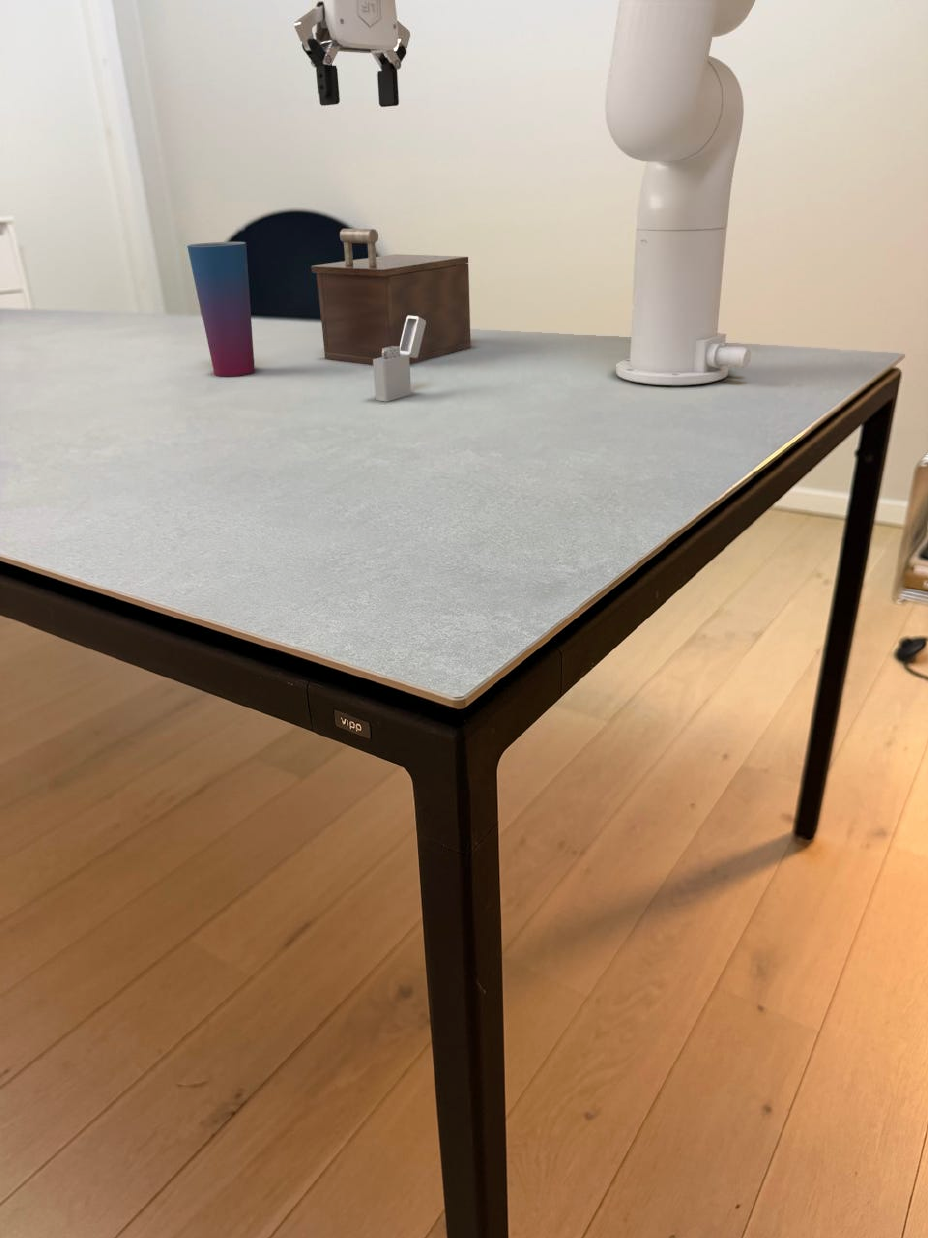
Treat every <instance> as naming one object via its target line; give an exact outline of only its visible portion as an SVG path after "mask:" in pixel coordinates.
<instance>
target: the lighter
mask: <svg viewBox="0 0 928 1238" xmlns="http://www.w3.org/2000/svg"><path fill="white" fill-rule="evenodd" d="M425 325H426V321H425V320H424V319H422V318H420V317H418V316H407V318H406V322H405V326H404V330H403V335H402V339H401V343H400V347H397V346H391V347H387V348H382V357H380V358H376V359H373V377H374V390H375V391H374V392H375V393H374V394H375V400H376V401H379V402H384V403H385V402H388V403H389V402H391V401H394V400H398V399H401V398H405V397H408V396H412V383H411V366H410V364H409V357H412V358H417V357H418V354H419V350H420V346H421V341H422V337H423V333H424V329H425Z"/></svg>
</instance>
